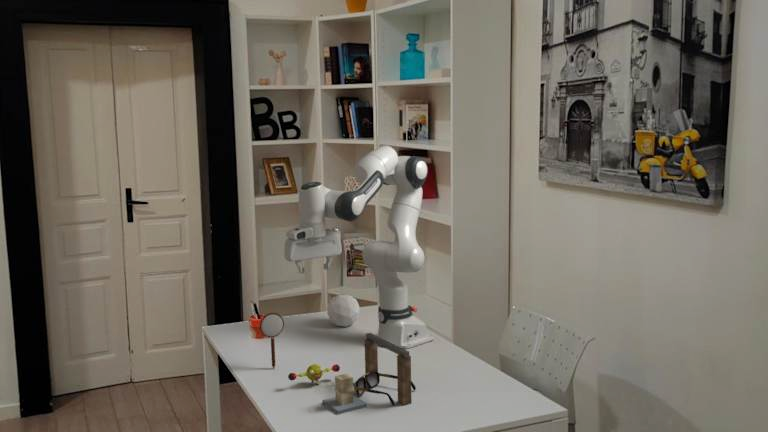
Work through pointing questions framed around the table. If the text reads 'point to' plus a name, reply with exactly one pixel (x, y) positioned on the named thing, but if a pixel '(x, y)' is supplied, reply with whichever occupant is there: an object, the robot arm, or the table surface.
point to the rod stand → (402, 371)
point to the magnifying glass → (272, 329)
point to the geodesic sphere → (343, 310)
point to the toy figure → (314, 373)
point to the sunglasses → (373, 383)
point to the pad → (340, 408)
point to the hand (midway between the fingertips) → (314, 271)
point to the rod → (387, 345)
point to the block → (344, 389)
